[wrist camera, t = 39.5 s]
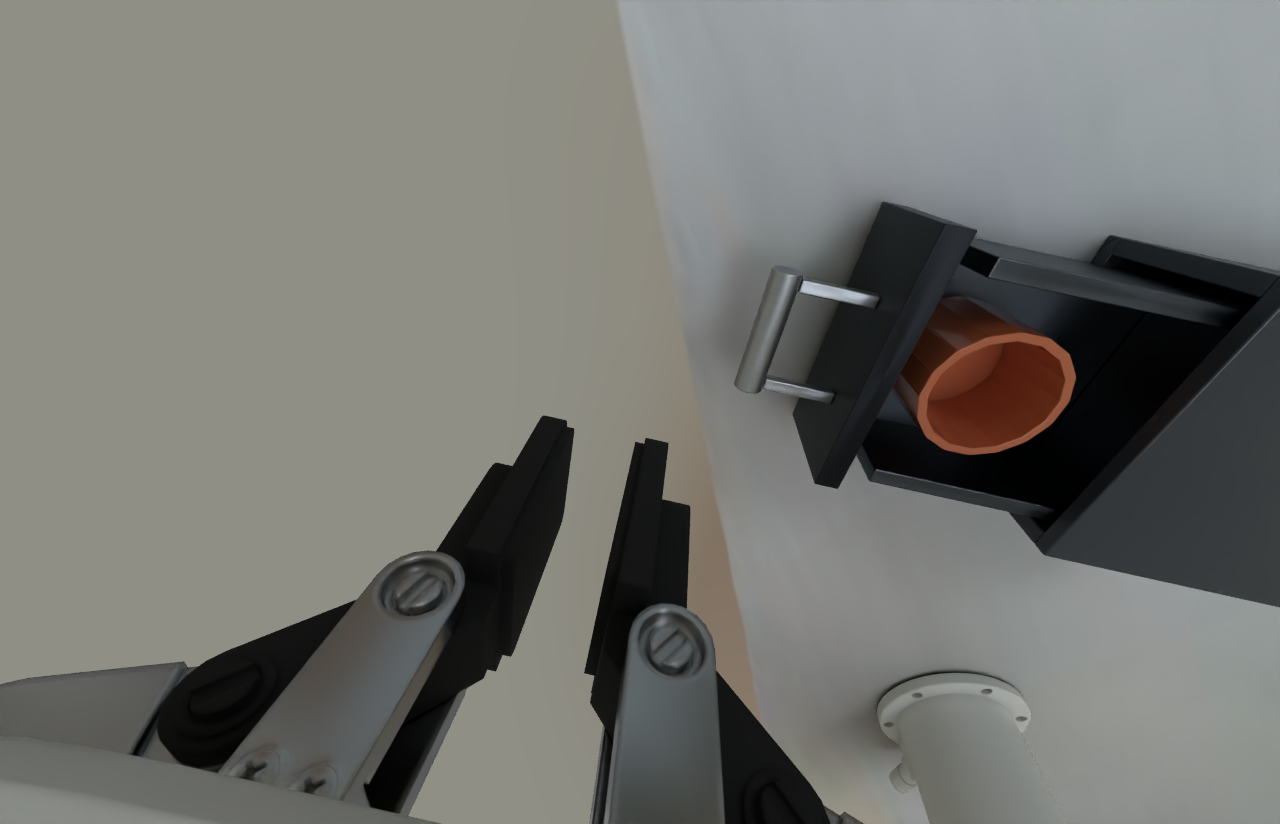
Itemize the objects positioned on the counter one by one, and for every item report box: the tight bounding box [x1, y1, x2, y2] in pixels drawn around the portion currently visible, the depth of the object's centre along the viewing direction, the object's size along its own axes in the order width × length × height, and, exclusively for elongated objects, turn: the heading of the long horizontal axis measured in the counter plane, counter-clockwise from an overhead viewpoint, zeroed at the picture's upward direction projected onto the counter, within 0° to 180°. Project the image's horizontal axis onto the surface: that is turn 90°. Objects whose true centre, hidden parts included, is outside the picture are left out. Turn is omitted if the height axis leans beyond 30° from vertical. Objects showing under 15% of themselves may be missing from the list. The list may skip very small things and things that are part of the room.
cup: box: [891, 296, 1076, 455], centre depth 22 cm, size 6×6×5 cm
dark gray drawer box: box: [1009, 235, 1280, 607], centre depth 22 cm, size 16×14×9 cm
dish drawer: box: [734, 202, 1253, 522], centre depth 22 cm, size 19×12×7 cm, turn 80°
